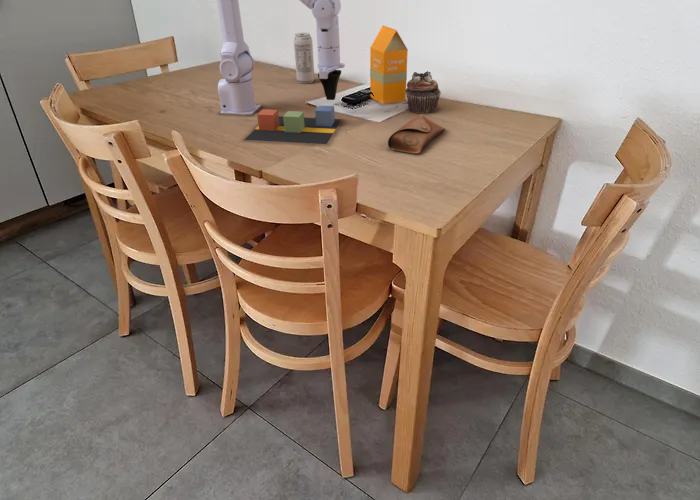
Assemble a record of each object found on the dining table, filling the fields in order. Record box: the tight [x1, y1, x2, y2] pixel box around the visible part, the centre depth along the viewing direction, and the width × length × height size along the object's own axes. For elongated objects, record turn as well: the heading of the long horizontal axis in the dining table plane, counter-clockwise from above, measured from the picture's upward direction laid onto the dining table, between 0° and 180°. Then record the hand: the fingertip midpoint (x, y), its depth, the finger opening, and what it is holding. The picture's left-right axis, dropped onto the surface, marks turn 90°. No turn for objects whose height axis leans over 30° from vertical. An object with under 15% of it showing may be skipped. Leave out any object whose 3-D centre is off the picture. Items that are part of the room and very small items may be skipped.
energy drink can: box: [293, 32, 315, 85], centre depth 162 cm, size 6×6×15 cm
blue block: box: [314, 105, 336, 127], centre depth 129 cm, size 4×4×4 cm
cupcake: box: [406, 70, 442, 114], centre depth 137 cm, size 10×10×10 cm
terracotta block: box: [256, 108, 280, 131], centre depth 128 cm, size 4×4×4 cm
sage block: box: [282, 110, 305, 133], centre depth 126 cm, size 4×4×4 cm
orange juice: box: [369, 25, 409, 105], centre depth 143 cm, size 8×9×20 cm
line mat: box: [244, 116, 342, 145], centre depth 128 cm, size 21×18×1 cm
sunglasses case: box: [387, 113, 446, 155], centre depth 120 cm, size 18×7×7 cm
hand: (330, 99), depth 134 cm, fingers closed
